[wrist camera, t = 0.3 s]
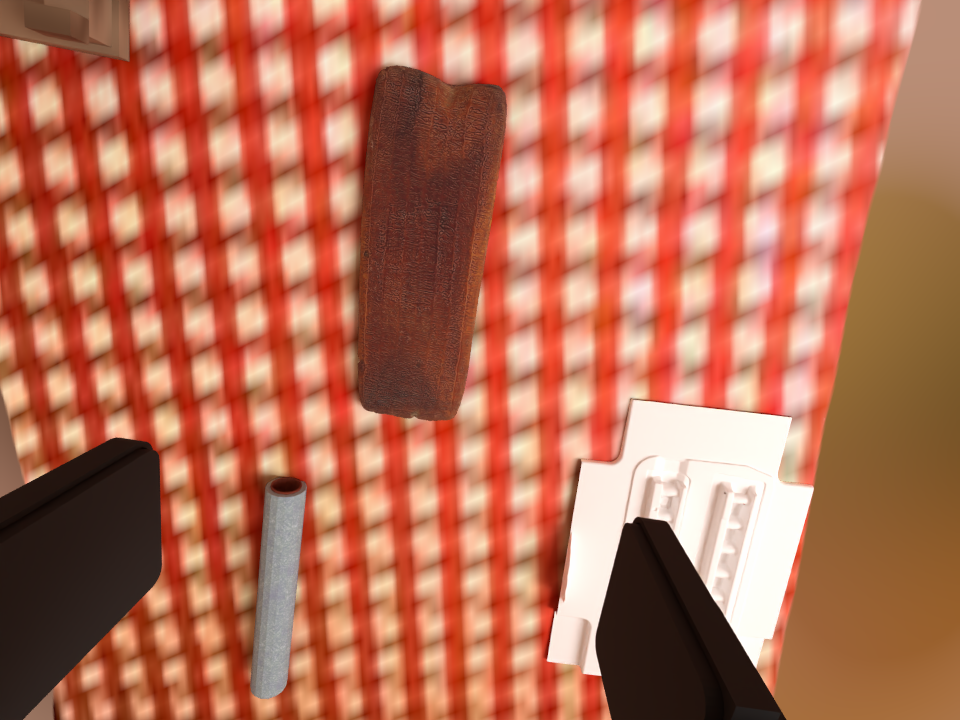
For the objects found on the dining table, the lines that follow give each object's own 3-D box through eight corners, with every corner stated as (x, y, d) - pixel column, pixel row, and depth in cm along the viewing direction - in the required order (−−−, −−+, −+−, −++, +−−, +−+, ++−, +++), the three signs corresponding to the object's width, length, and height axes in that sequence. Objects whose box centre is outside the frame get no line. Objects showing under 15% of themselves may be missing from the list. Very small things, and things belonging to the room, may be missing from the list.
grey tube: (292, 672, 50) (278, 703, 47) (229, 661, 50) (210, 691, 47) (312, 478, 44) (298, 498, 41) (240, 465, 44) (220, 484, 41)
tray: (825, 416, 42) (856, 433, 38) (747, 675, 49) (767, 710, 45) (588, 391, 42) (597, 406, 38) (545, 653, 49) (549, 686, 45)
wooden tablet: (376, 66, 35) (370, 58, 34) (512, 87, 35) (512, 80, 34) (347, 406, 42) (340, 413, 40) (461, 424, 42) (459, 431, 40)
